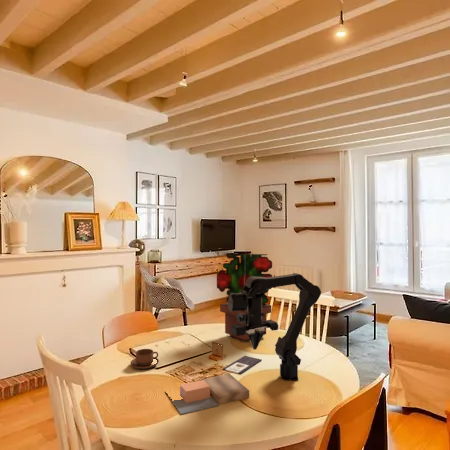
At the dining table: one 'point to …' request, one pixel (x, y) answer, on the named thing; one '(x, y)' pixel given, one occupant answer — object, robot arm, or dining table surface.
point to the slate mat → (194, 405)
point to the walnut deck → (226, 388)
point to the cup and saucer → (144, 359)
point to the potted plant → (242, 285)
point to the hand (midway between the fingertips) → (254, 349)
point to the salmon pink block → (194, 391)
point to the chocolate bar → (242, 364)
